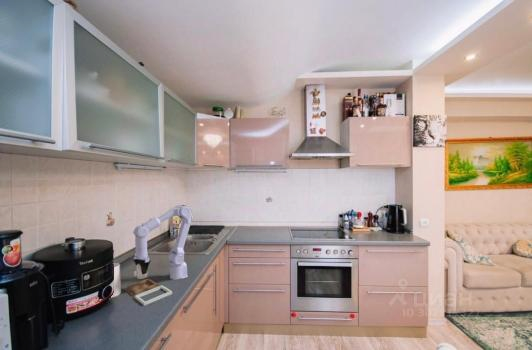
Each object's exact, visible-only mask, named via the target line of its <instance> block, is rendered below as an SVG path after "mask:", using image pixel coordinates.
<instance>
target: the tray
mask: <svg viewBox="0 0 532 350" xmlns="http://www.w3.org/2000/svg"><path fill="white" fill-rule="evenodd" d="M159 290H163V291H165V293H162V294H160V295H158V296H155V297H153V298H151V299H148V300H146V301H145V300H144V299H143V298H141V297H145V296H147V295H149V294H152V293H154V292H156V291H159ZM167 297H168V298H170V297H173V290H170V289H169V288H168V287H166V286H164V285H159V287H156V288H154V289H151V290H148V291H146V292H143V293H141V294H138V295H135V298H134V299H135V300H137V301H138V302H139V303H140V304H142V305H143V308H147V307H149V306H152V305H154V304H156V303H158V301H159V302H161V301H164V300H166V299H168V298H167ZM165 298H166V299H165Z"/></svg>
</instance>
